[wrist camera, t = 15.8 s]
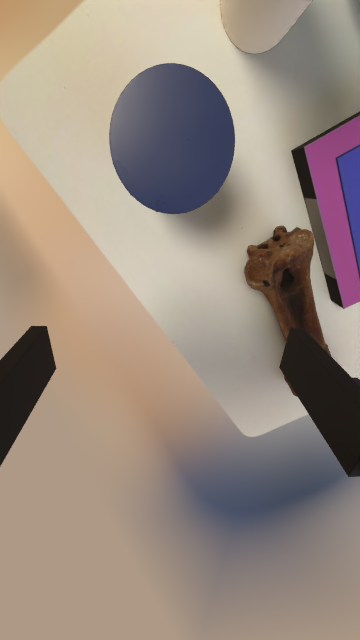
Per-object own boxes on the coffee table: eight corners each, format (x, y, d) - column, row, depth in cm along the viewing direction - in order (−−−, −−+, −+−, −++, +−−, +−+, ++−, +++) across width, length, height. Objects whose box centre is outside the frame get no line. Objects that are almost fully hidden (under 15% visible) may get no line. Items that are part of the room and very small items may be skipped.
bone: (314, 431, 40) (249, 268, 26) (285, 393, 48) (222, 250, 33) (367, 405, 40) (330, 222, 25) (330, 370, 47) (285, 214, 33)
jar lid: (119, 209, 21) (114, 212, 19) (110, 72, 17) (103, 58, 15) (221, 213, 22) (227, 215, 20) (234, 81, 18) (243, 67, 16)
